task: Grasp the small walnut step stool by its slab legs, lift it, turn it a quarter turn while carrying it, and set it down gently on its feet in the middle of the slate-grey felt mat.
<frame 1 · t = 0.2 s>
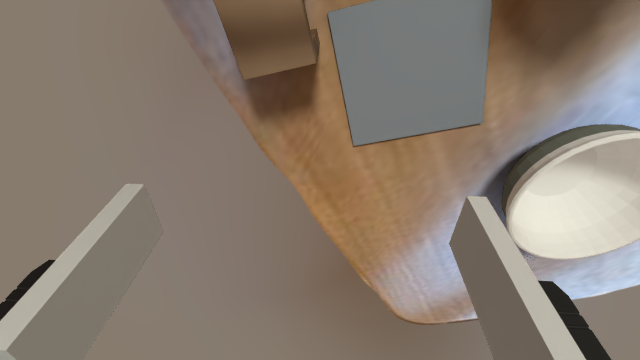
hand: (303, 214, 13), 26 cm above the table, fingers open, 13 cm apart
stool: (278, 13, 32), on the table
mat: (411, 71, 35), on the table
bowl: (554, 165, 42), on the table
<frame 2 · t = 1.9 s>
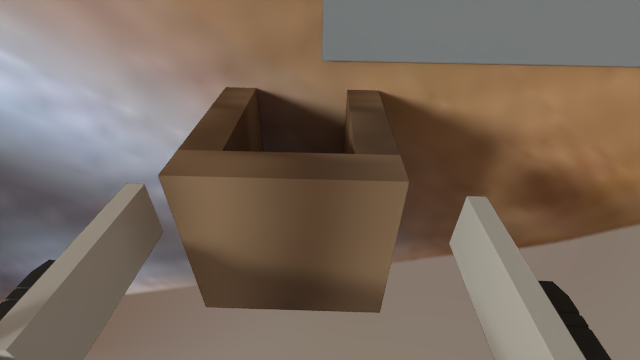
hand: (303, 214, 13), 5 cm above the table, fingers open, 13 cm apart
stool: (303, 150, 17), on the table
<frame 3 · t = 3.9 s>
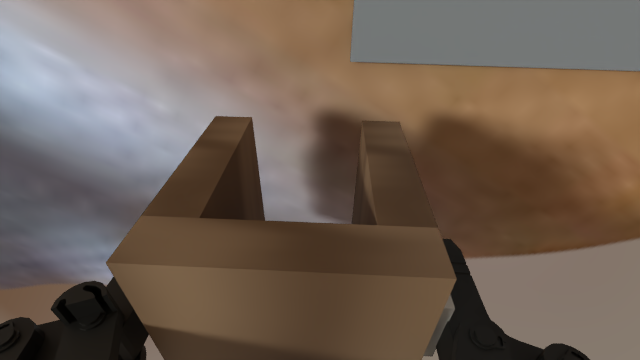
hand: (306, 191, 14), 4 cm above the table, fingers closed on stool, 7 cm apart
stool: (307, 187, 15), point 4 cm above the table, touching gripper
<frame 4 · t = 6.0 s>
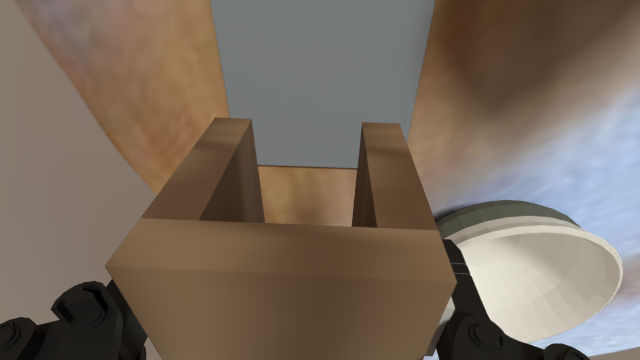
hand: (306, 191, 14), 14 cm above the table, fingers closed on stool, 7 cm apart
stool: (307, 188, 15), point 14 cm above the table, touching gripper
mat: (320, 84, 26), on the table
bowl: (474, 234, 36), on the table
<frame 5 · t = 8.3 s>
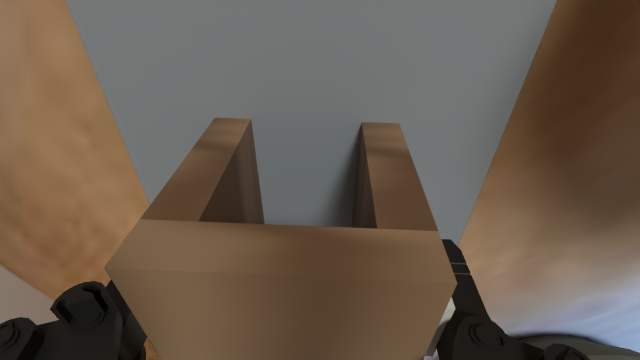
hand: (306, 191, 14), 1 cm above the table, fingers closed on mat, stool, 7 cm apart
stool: (307, 188, 15), resting on mat, touching gripper
mat: (307, 182, 15), on the table
bowl: (536, 359, 25), on the table
when the fingers open (1 cm above the table, at t = 8.9 s): stool stays where it is, resting on mat.
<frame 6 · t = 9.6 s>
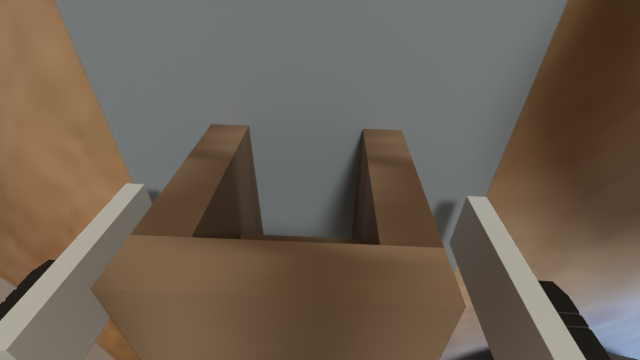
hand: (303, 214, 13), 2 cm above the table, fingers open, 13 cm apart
stool: (306, 196, 14), resting on mat
mat: (307, 189, 15), on the table
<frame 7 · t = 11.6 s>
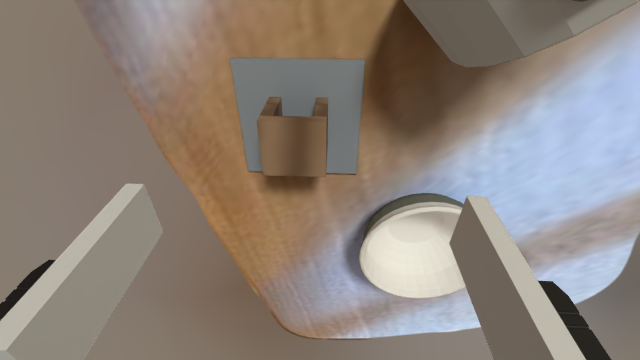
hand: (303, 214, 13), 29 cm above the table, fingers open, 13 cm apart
stool: (299, 122, 41), resting on mat
mat: (300, 121, 42), on the table
bowl: (414, 219, 51), on the table
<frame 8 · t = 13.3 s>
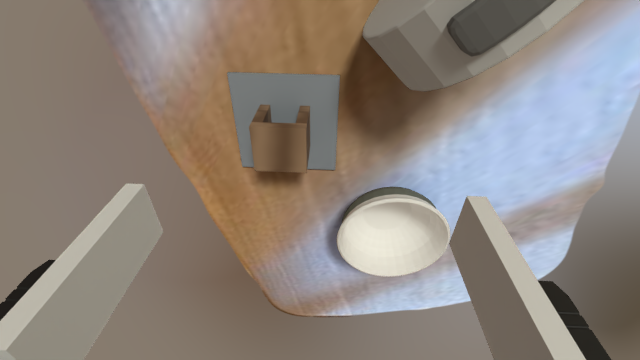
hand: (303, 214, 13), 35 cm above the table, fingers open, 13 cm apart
stool: (286, 126, 49), resting on mat
mat: (286, 124, 49), on the table
bowl: (386, 209, 59), on the table
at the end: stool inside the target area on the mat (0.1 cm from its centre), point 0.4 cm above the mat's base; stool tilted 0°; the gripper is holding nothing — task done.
